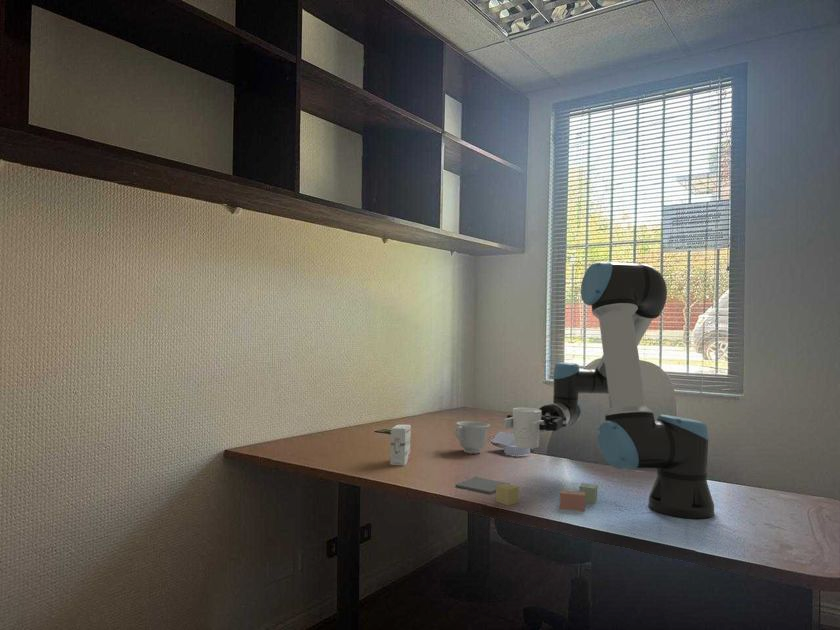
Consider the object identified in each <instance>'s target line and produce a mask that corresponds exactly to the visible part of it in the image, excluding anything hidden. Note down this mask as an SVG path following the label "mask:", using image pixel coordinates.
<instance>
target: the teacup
mask: <svg viewBox="0 0 840 630" xmlns="http://www.w3.org/2000/svg"><path fill="white" fill-rule="evenodd" d="M455 425H456V427H455V431H454V433H455V437H456V438H457V439H458V442H459V445H460V446H461V448H463V449H464V450H463V452H464V453H465V454H473V453H474V454H479V453H481V449H482V448H484V446H485V445H486V440H487V435H488V433H487V432H488V428H489V427H490V426H491V425H490V423H488V422H484V421H478V420H475V421H474V420H463V421H462V420H461V421H458V422H456V423H455Z"/></svg>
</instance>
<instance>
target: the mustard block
mask: <svg viewBox="0 0 840 630" xmlns="http://www.w3.org/2000/svg"><path fill="white" fill-rule="evenodd" d="M519 489H520V488H519V486H516V485H512V484H510V483H509V484H503V485H499V486H496V492H495V493H496V495H495V502H497V503H500V504H503V505H505V506H511V505H515V504H518V503H519V492H520V491H519Z"/></svg>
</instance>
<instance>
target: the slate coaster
mask: <svg viewBox="0 0 840 630" xmlns="http://www.w3.org/2000/svg"><path fill="white" fill-rule="evenodd" d="M503 484H510V483H508V482H503V481H499V480H494V479H488V478H485V477H484V478H483V477H478V476H474V477H471V478H468V479H466V480H464V481H461V482H459V483H455V487H456V488H461V489H465V490H469V491H474V492H480V493H484V494H489V495H493V494H494V493H496V486H499V485H503Z"/></svg>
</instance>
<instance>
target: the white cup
mask: <svg viewBox="0 0 840 630" xmlns="http://www.w3.org/2000/svg"><path fill="white" fill-rule="evenodd" d="M512 414H513V428H512V434H513V436H514V446H516V447H519V448H530V449H537V448H539V445H540V435H541V432H537V433H534V434H533V433H531V427H532V423H533V422H537V421H541V414H542V410H540V408H534V407H513V408H512Z"/></svg>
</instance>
